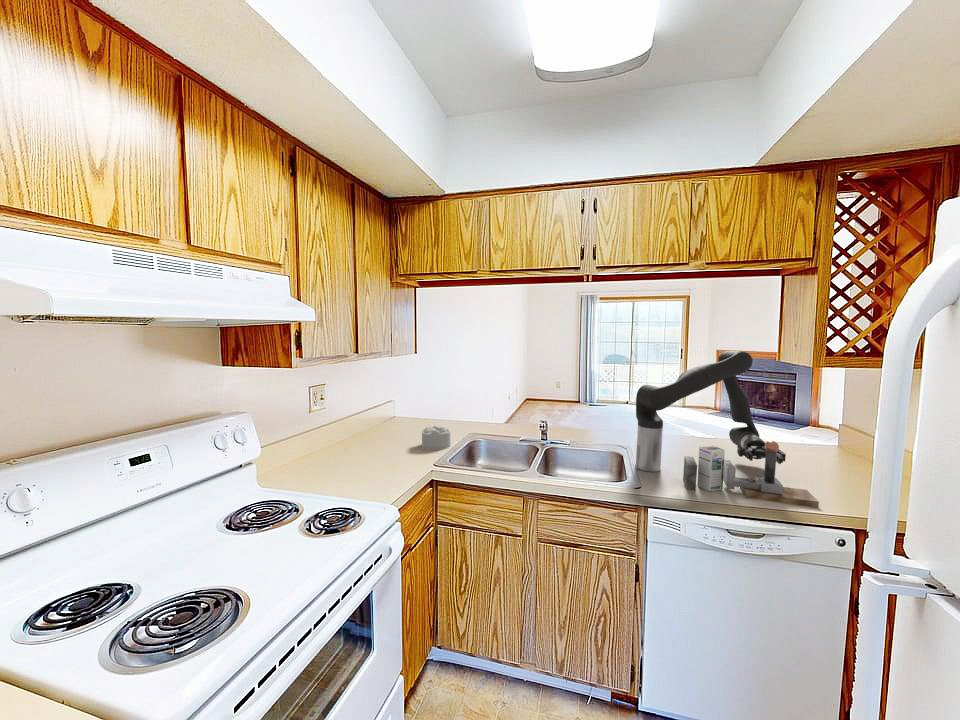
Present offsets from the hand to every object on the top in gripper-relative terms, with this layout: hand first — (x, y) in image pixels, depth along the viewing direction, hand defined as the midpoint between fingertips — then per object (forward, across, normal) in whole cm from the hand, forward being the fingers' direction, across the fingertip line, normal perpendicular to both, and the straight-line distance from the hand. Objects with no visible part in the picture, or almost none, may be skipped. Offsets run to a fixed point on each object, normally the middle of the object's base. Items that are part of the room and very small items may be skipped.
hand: (765, 459), depth 145 cm
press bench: (+5, -7, +11) cm, 14 cm away
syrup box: (+5, -18, +11) cm, 21 cm away
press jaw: (+5, -5, +9) cm, 11 cm away
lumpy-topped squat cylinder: (-1, -129, +11) cm, 129 cm away
